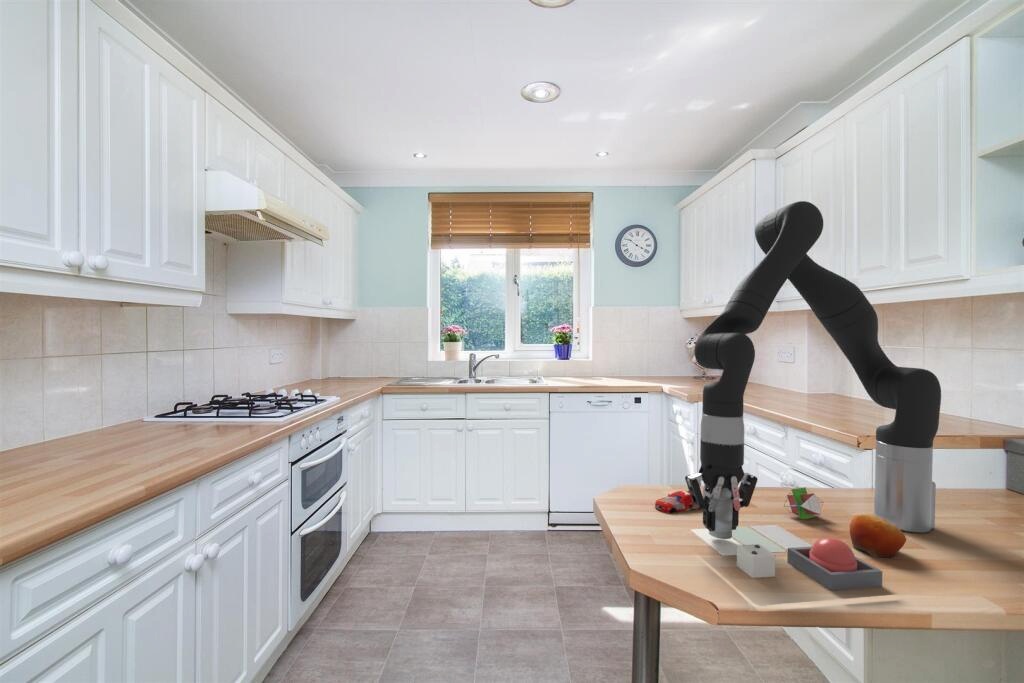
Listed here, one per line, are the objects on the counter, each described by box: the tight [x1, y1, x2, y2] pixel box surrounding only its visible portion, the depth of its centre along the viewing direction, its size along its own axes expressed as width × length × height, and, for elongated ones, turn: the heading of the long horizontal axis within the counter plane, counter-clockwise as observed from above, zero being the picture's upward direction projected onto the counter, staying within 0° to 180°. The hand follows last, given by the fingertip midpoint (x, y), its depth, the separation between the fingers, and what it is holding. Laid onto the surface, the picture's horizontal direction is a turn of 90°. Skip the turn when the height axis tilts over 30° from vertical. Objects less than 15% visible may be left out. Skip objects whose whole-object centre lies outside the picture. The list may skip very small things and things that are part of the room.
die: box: [736, 544, 776, 579], centre depth 76 cm, size 4×4×4 cm
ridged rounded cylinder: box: [709, 488, 733, 539], centre depth 87 cm, size 4×4×10 cm
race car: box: [654, 490, 702, 514], centre depth 105 cm, size 13×5×4 cm, turn 108°
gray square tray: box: [786, 547, 883, 592], centre depth 76 cm, size 9×9×3 cm
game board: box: [690, 524, 813, 557], centre depth 88 cm, size 20×12×1 cm, turn 98°
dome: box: [809, 536, 857, 572], centre depth 76 cm, size 6×6×6 cm
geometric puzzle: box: [783, 486, 824, 521], centre depth 100 cm, size 7×7×8 cm
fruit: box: [849, 513, 907, 558], centre depth 84 cm, size 8×8×8 cm
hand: (720, 528), depth 87 cm, fingers closed on ridged rounded cylinder, 3 cm apart
